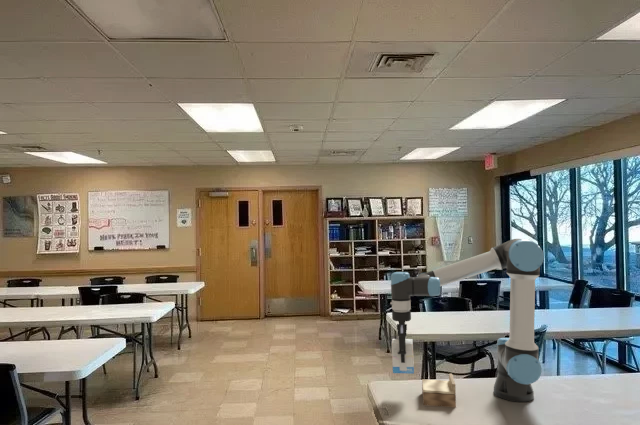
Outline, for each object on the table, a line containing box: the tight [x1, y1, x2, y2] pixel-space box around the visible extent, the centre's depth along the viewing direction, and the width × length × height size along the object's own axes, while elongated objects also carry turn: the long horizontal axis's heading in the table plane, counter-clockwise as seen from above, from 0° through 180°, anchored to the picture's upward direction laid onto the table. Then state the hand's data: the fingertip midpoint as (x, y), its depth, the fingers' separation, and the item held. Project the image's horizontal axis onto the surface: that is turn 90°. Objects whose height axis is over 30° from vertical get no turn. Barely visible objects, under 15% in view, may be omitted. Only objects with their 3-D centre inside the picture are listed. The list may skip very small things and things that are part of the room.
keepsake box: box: [421, 383, 457, 408], centre depth 169 cm, size 12×12×5 cm
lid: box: [421, 373, 457, 395], centre depth 169 cm, size 12×12×4 cm
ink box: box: [391, 336, 415, 375], centre depth 172 cm, size 9×8×13 cm
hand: (403, 366), depth 172 cm, fingers closed on ink box, 8 cm apart
